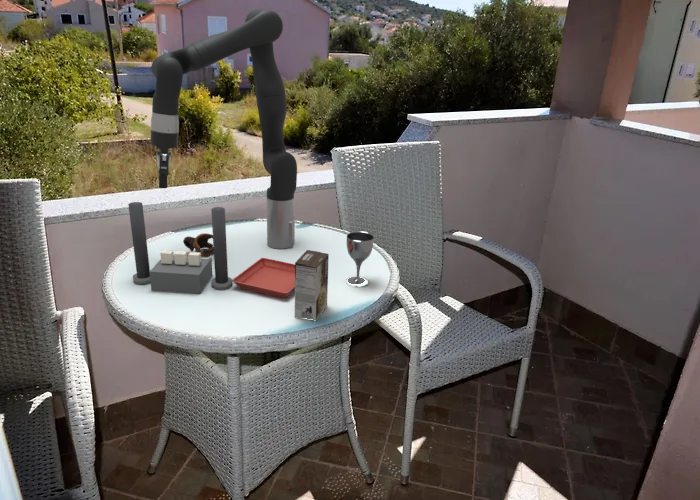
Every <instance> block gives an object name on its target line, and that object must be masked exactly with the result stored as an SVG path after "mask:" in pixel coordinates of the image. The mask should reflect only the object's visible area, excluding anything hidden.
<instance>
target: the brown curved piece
mask: <svg viewBox="0 0 700 500" xmlns="http://www.w3.org/2000/svg"><path fill="white" fill-rule="evenodd" d="M210 239H212V240H213V234H212V233H211V234H210V233H206V232H205V233H204V232H203V233H200V234H198V235H197V236H196V237H193V236H185V237H184V238H183V241H182V242H183V244H184V246H185V247H186V248H188V250H190V252H198V253H201V257H211V256H214V247H213V243H210V242H209V240H210ZM202 249H203V250H202ZM194 250H195V251H194Z"/></svg>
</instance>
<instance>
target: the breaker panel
mask: <svg viewBox="0 0 700 500" xmlns="http://www.w3.org/2000/svg"><path fill="white" fill-rule="evenodd" d="M187 259H188V255H187ZM174 260H175V258H174ZM188 261H189V260H188ZM201 262H202V264H200V265H199V266H197V265H189V264H187V263H186V265H181V264H175V263H172V264H165V263H161V259H159V261H158V262H156V264H155V265H154V266H153V267H152V268H151V269H150V271H149V274H150V283H151V284H150V290H151V291H152V292H164V293H165V292H166V293H167V292H168V293H180V294H182V293H183V294H194V295H195V294H197V295H198V294H199V295H201V294H202V292H203V291H204V289H206V286H207V285H208V283H209V282H210V281H211V280H212V278H213V259H212V257H211V256H209V257H201Z"/></svg>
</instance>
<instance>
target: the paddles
mask: <svg viewBox="0 0 700 500" xmlns="http://www.w3.org/2000/svg"><path fill="white" fill-rule="evenodd" d="M159 255H160V260H161V263H165V264H172V263H175V264H181V265H186V263H187V264H189V265H197V266H199V265H200V264H202V262H201V253H198V252H197V251H193V252H191V251H190V252H189V253H188V251H181V250H179V251H178V250H177V251H175V252H174V250H165V249H164V250H163V249H162V251H160V253H159ZM187 256H188V259H187ZM174 258H175V260H174ZM188 260H189V261H188Z"/></svg>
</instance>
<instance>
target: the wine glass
mask: <svg viewBox="0 0 700 500" xmlns="http://www.w3.org/2000/svg"><path fill="white" fill-rule="evenodd" d="M374 239H375V236H374V235H373V234H372V233H370V232H367V231H351V232H349V233H347V235H346V249H347V253H348V255H349V257H350V258H351V259H352V260H353V261H354V263H355V266H356V276H351V278H350V277H348V278H349V279H348V278H347V279H348V282H349V283H351V284H361V283H363V282H364V281H365V280H364V279H363V278H364V277H363V278H360V277H361V276H360V271H361V267H362V264H363V263H364V262H365V261H366V260H367V259H368V258H369V257H370V256H371V254H372V251H373V247H374Z"/></svg>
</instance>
